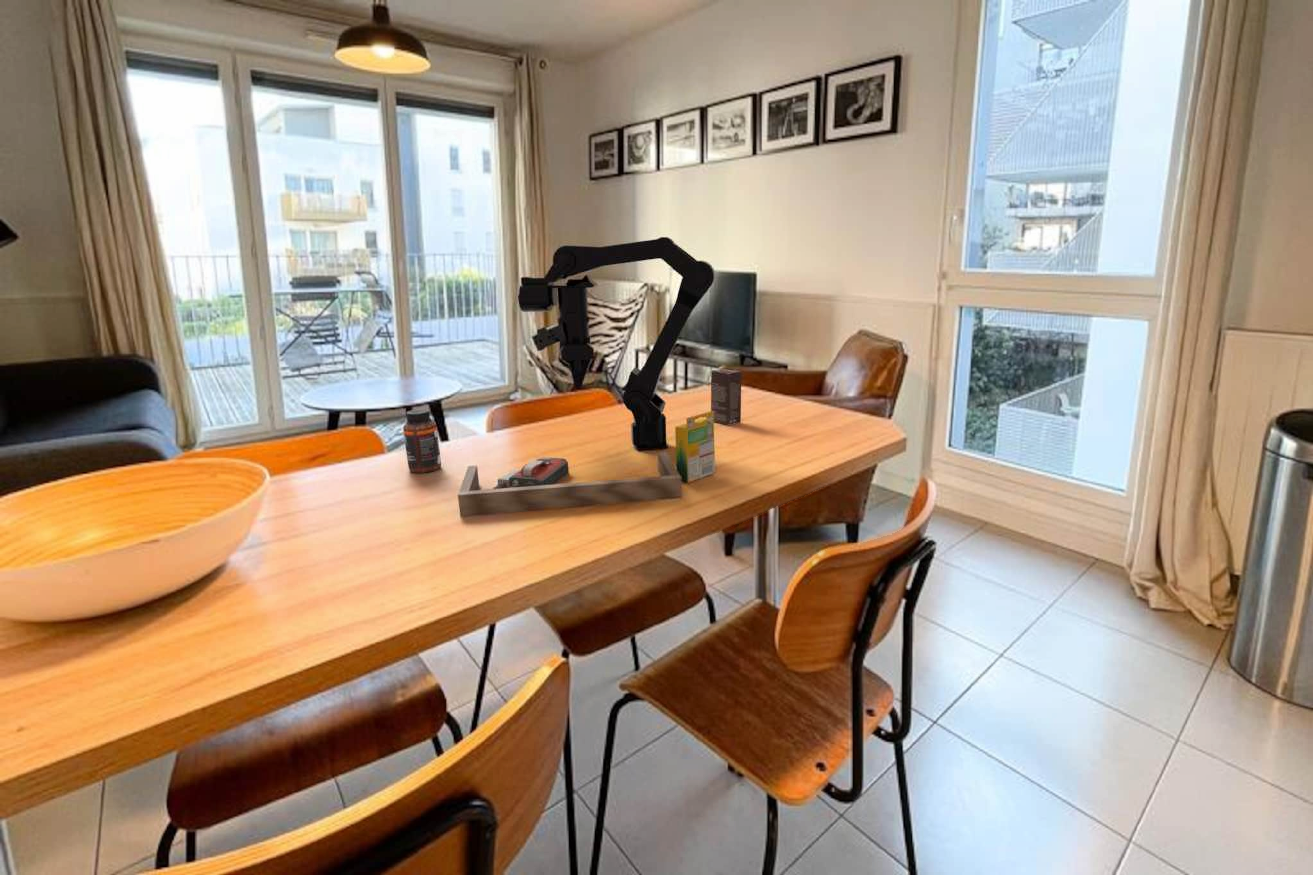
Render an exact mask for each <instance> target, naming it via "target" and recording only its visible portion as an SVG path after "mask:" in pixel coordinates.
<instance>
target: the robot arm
mask: <svg viewBox="0 0 1313 875" xmlns="http://www.w3.org/2000/svg"><path fill="white" fill-rule="evenodd" d="M657 259H658V260H659V259H661V260H662V261H663V262H665V263H666V264H667V265H668V266H669V267H670V268H671V269H673V270H674V271H675V272H676V273H677V274H678V275H679V276H681V277H682V278H681V281H680V285H679V288H678V293H677V296H676V298H675V299H676V300H675V303H674V305H673V307H672V309H671V311H670V313H669V315H668V317H667V319H666V321H665V323H664V325H663V327H662V329H661V331H660V334H659V335H658V337H657V339H656V341H655V342H654V345H653V347H652V349H651V351H650V352H649V355H648V357H647V359H646V360H645V363H644V365H643V366H642V368H641V369H639V368H638V367H636V366H634V368H633V369H632V370H631V371H630V372H629V376H628V379H627V382H626V383H625V385H624V386H623V387H622V388H621V390H622V391H623V394H622V401H623V405H624V406H625V407H626V409H627V410H628V411H630V412H631V413H632V416H633V422H631V424H630V431H631V443H632V445H633V446H634V447H635V450H636V451H644V450H645V451H646V450H647V451H648V450H660V449H668V448H669V445H668V443H667V416H666V415H665V414H664V413H663V411H664V409H665V406H666V401H665V400H664V399H663V398H662V397H661V396H660V395H658V394H657V393H656V392H657V391H658V390H657V389H658V386H659V382H660V379H661V375H662V372H663V369H664V367H665V366H666V363H667V362H668V360H669V357H670V356H671V353H672V352H673V349H674V348H675V345H676V344H677V342H678V339H679V338H680V336H681V333H682V332H683V330H684V328H685V326H686V324H687V322H688V321H689V318H690V317H691V314H692V312H693V310H694V309H695V308H696V307H697V305H698V304H699V302H701V300H702V299H703V298H704V296H705V294H707V292H708V291H709V289H710V288H711V287H712V285H713V284H714V283H715V279H716V272H715V268H714V267H713V265H712V264H711V263H709V262H708V261H705V260H697V259H695V257H693V256H692V255H691V254H690V253H689V252H687V251H686V250H684V249H683V248H681V246H679V245H678V244H676V243H675V241H674V240H673V239H672V238H670V237H668V236H660V237H658V238H656V239H649V240H641V241H635V242H634V241H633V242H627V243H620V244H613V245H605V246H593V245H592V246H590V245H561V246H560V247H558V248H557V249H556V250H555V251H554V253H553V256H552V265H551V266H550V268H549V269H548V271H547V273H546V274H545V276H543V277H532V276H523V277H522V276H521V277H520V285H519V290H518V294H517V297H518V298H517V299H518V301H517V302H518V306H519V308H520V310H521V311H522V312H523V313H524V312H525V313H527V312H528V313H533V312H534V313H535V312H542V313H543V312H545V313H546V312H552V311H553V308H554V307H556V306H558V314H559V315H558V317H557V323H555V324H553V325H551V326H548V327H545V326H542V328H538V329H537V330H536V332H534V333H532V334H531V339H532V340H533V343H534V345H535V348H536V349H537V352H540V351H543V350H545V349H546V348H548V347H550V346H552V345H555V344H558V343H559V350H560V360H561V361H563V362H565V363H566V364H567V365H569V370H570V372H571V377H572V381H573V385H574V388H575V390H581V388H582V387H583V383H584V380H585V378H586V374H587V373H588V372H587V371H588V370H589V369H588V368H589V366H590V364H591V361H592V360H594V359H595V349H594V347H593V346H592V345H591V338H590V326H589V323H590V316H589V306H588V305H589V303H588V289H589V288H596V287H597V286H598V283H597V282H595V281H594V280H593V279H592V278H591V276H590V275H589V274H585V273H588V272H591V271H594V270H598V269H599V268H603V267H606V266H611V265H612V266H613V265H621V264H627V263H636V262H642V261H643V262H644V261H649V260H657ZM582 274H585V275H584V276H583V278H570V279H568V280H567V281H566V284H555V283H556V282H560V281H565V280H566V279H567V278H569V277H573V276H574V277H575V276H578V275H582Z"/></svg>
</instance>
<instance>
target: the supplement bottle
mask: <svg viewBox="0 0 1313 875" xmlns="http://www.w3.org/2000/svg"><path fill="white" fill-rule="evenodd" d="M406 419H407V421H406V423H405V424H404V425H403V427H402V430H403V438H404V439H403V440H404V445H405V453H406V460H407V466H408V470H409V471H410V472H412V473H416V474H417V473H418V474H424V473H430V472H431V473H432V472H434V471H436V470H439V469H441V466H442V459H441V452H440V445H439V444H440V442H439V435H438V429H437V428H438V427H437V423H436V421H434V420H432V419H431V415H430V410H429V409H426V408H415V409H412V410H407V412H406Z"/></svg>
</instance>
